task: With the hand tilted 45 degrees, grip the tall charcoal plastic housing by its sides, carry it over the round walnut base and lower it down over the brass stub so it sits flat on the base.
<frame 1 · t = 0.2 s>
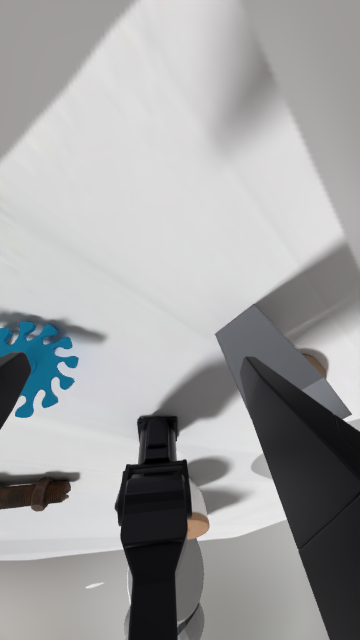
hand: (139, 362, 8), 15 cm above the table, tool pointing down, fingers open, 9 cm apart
housing: (246, 333, 26), on the table
blue thin-armed part: (40, 344, 25), on the table
bolt: (33, 479, 40), on the table
alarm clock: (165, 514, 53), on the table
lidded jar: (178, 481, 45), on the table
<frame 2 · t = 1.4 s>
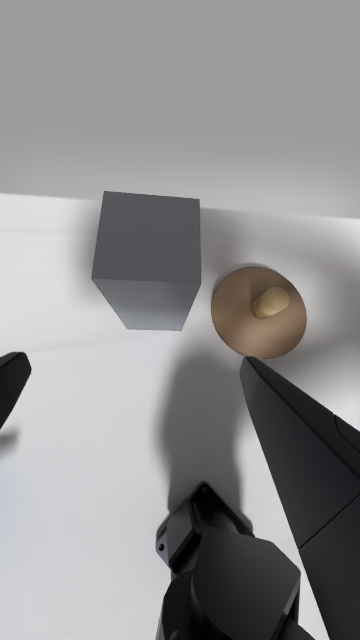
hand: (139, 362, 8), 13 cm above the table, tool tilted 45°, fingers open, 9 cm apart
housing: (155, 304, 23), on the table
stub base: (256, 312, 24), on the table
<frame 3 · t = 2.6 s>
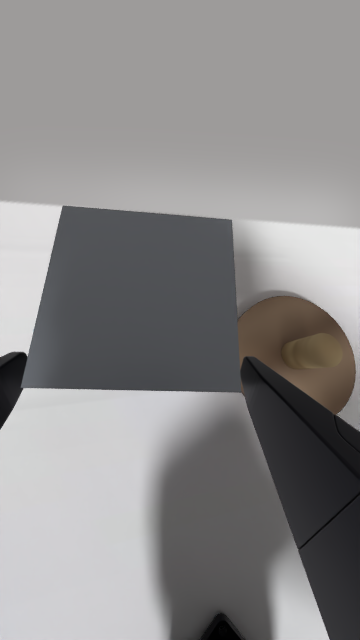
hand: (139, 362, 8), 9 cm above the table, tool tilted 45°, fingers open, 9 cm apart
housing: (155, 346, 18), on the table
stub base: (286, 356, 19), on the table
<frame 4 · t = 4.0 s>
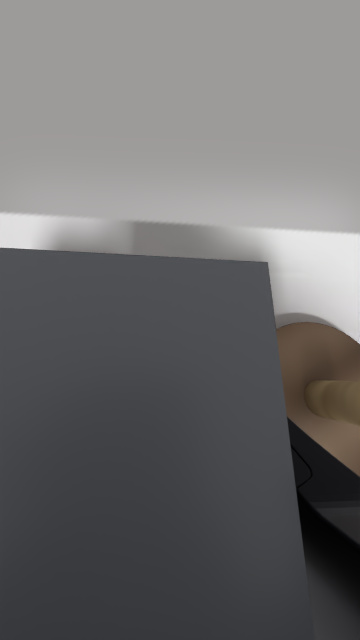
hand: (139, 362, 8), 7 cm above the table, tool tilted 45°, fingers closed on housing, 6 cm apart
housing: (148, 388, 14), on the table, touching gripper
stub base: (308, 396, 15), on the table
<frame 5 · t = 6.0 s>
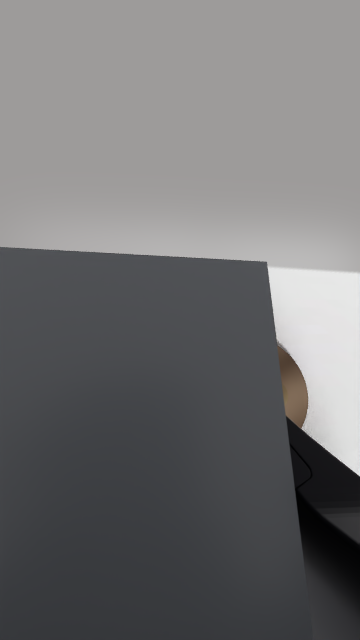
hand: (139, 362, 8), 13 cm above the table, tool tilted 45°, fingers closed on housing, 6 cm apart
housing: (148, 388, 14), point 7 cm above the table, touching gripper
stub base: (251, 390, 22), on the table
when the fingers open (9 cm above the table, at t = 8.3 s): housing drops 1 cm, resting on stub base.
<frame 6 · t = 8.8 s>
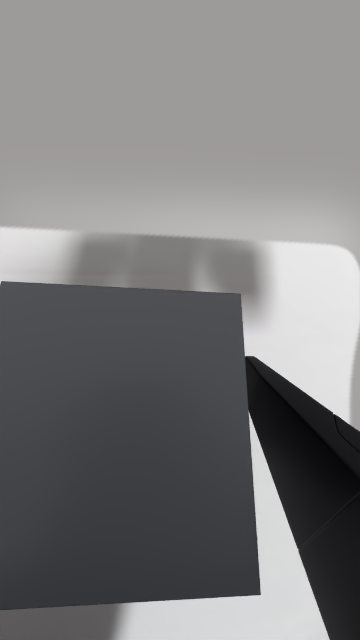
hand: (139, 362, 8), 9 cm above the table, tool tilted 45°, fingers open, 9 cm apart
housing: (149, 387, 16), point 1 cm above the table, touching stub base
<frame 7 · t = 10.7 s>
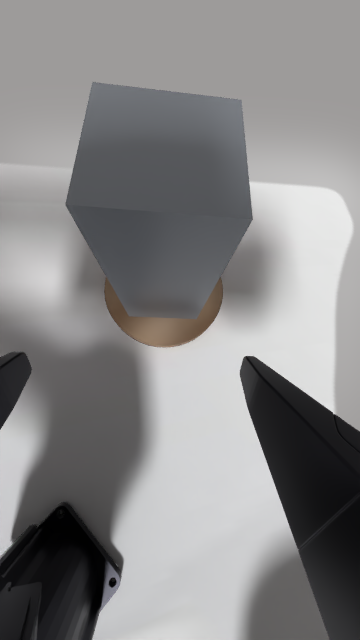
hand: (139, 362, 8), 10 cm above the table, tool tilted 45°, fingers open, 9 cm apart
housing: (164, 286, 19), point 1 cm above the table, touching stub base
stub base: (164, 291, 20), on the table
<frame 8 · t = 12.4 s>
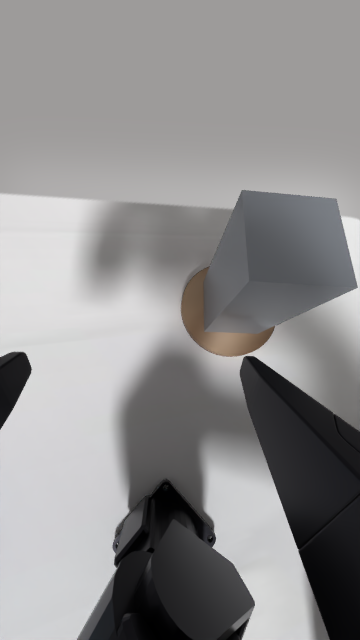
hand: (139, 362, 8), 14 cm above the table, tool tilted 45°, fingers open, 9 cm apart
housing: (229, 306, 23), point 1 cm above the table, touching stub base
stub base: (226, 310, 24), on the table
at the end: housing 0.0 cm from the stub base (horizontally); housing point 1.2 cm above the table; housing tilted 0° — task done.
